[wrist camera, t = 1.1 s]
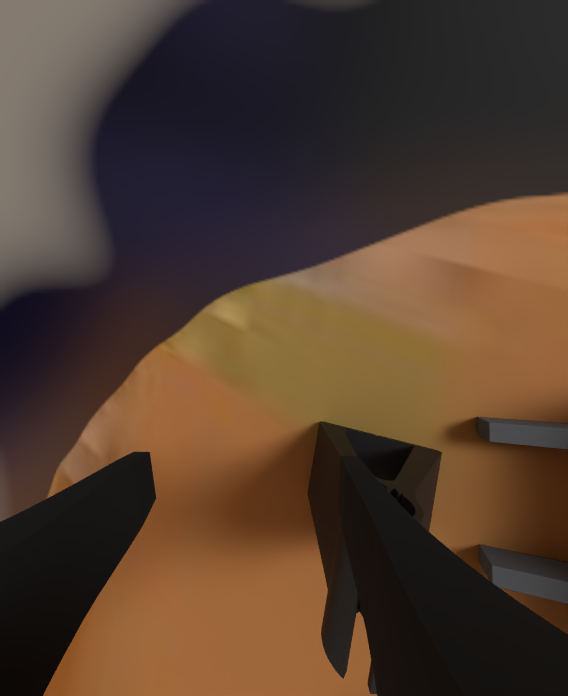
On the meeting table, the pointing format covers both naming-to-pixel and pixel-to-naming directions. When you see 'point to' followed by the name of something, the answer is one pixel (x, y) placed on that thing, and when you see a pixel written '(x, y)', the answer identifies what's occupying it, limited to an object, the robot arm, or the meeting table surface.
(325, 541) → the phone stand
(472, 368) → the meeting table surface
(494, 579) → the keeper
